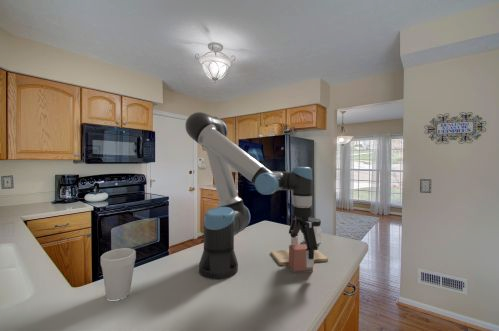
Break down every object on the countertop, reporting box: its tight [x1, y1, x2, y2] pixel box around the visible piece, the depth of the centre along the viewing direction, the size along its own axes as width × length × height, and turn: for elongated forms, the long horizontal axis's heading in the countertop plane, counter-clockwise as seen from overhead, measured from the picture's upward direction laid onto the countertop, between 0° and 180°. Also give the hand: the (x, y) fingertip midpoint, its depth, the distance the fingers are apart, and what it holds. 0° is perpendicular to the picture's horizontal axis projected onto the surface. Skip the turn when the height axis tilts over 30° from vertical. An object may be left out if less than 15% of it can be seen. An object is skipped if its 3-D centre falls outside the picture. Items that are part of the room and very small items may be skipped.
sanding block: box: [288, 243, 314, 274], centre depth 91 cm, size 8×5×9 cm, turn 103°
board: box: [270, 249, 329, 266], centre depth 102 cm, size 22×12×1 cm, turn 103°
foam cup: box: [100, 247, 137, 300], centre depth 71 cm, size 10×9×13 cm
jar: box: [303, 217, 322, 245], centre depth 122 cm, size 9×8×12 cm
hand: (301, 259), depth 90 cm, fingers open, 13 cm apart
